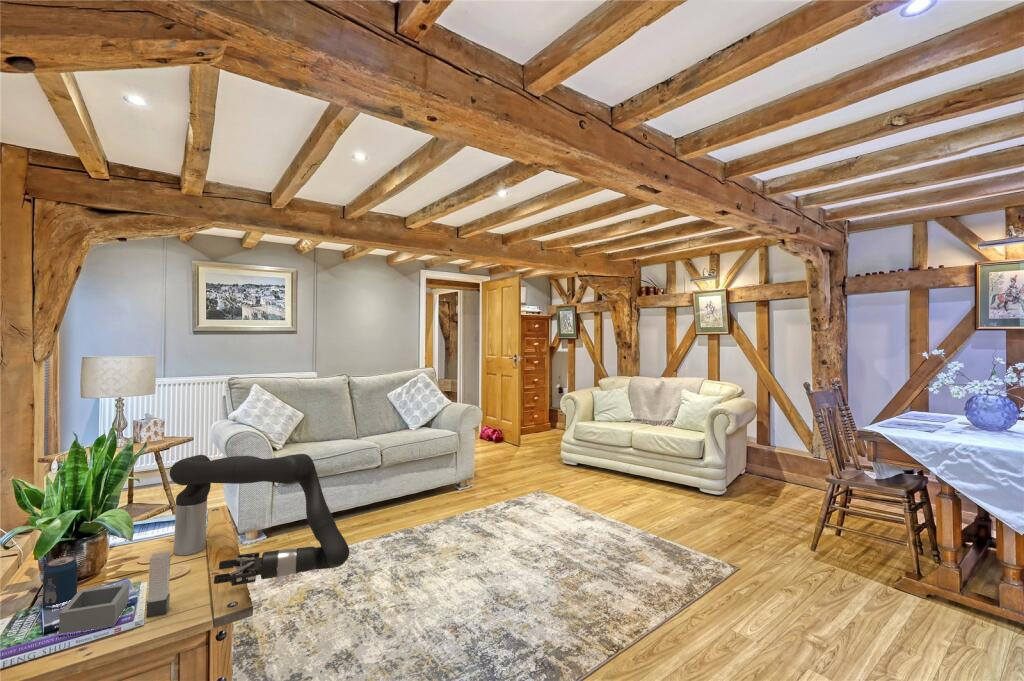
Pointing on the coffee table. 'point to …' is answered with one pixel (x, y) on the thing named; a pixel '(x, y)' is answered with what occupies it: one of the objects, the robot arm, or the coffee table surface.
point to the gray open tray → (94, 608)
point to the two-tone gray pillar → (158, 585)
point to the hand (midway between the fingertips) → (216, 572)
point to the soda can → (60, 580)
